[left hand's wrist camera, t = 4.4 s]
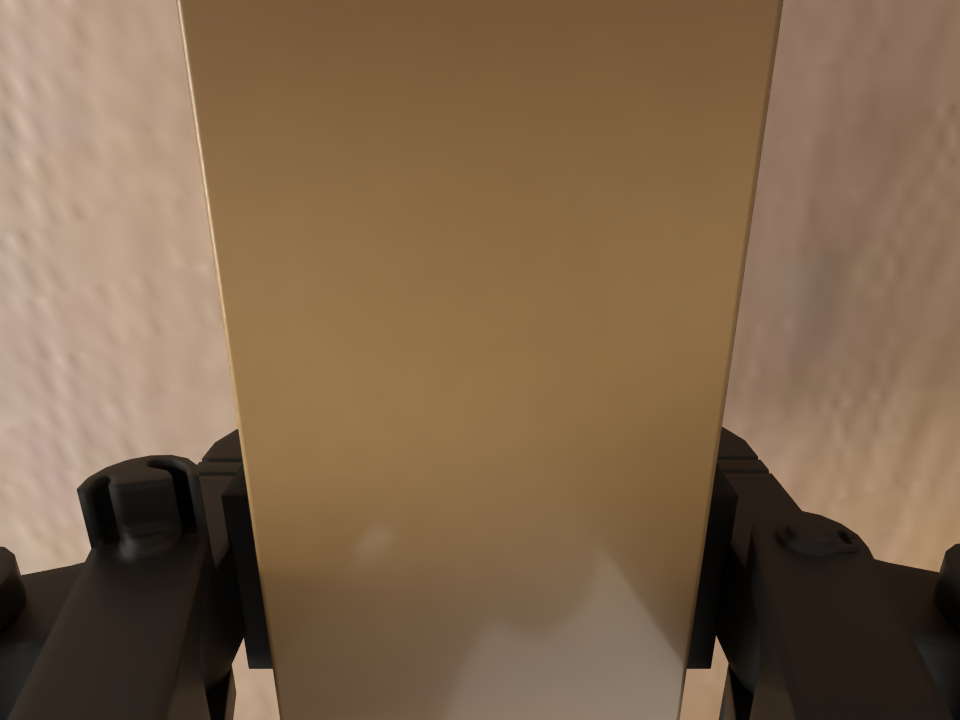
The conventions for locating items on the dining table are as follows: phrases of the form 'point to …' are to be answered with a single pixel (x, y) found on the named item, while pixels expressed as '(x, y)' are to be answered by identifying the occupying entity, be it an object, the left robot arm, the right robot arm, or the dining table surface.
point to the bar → (479, 335)
